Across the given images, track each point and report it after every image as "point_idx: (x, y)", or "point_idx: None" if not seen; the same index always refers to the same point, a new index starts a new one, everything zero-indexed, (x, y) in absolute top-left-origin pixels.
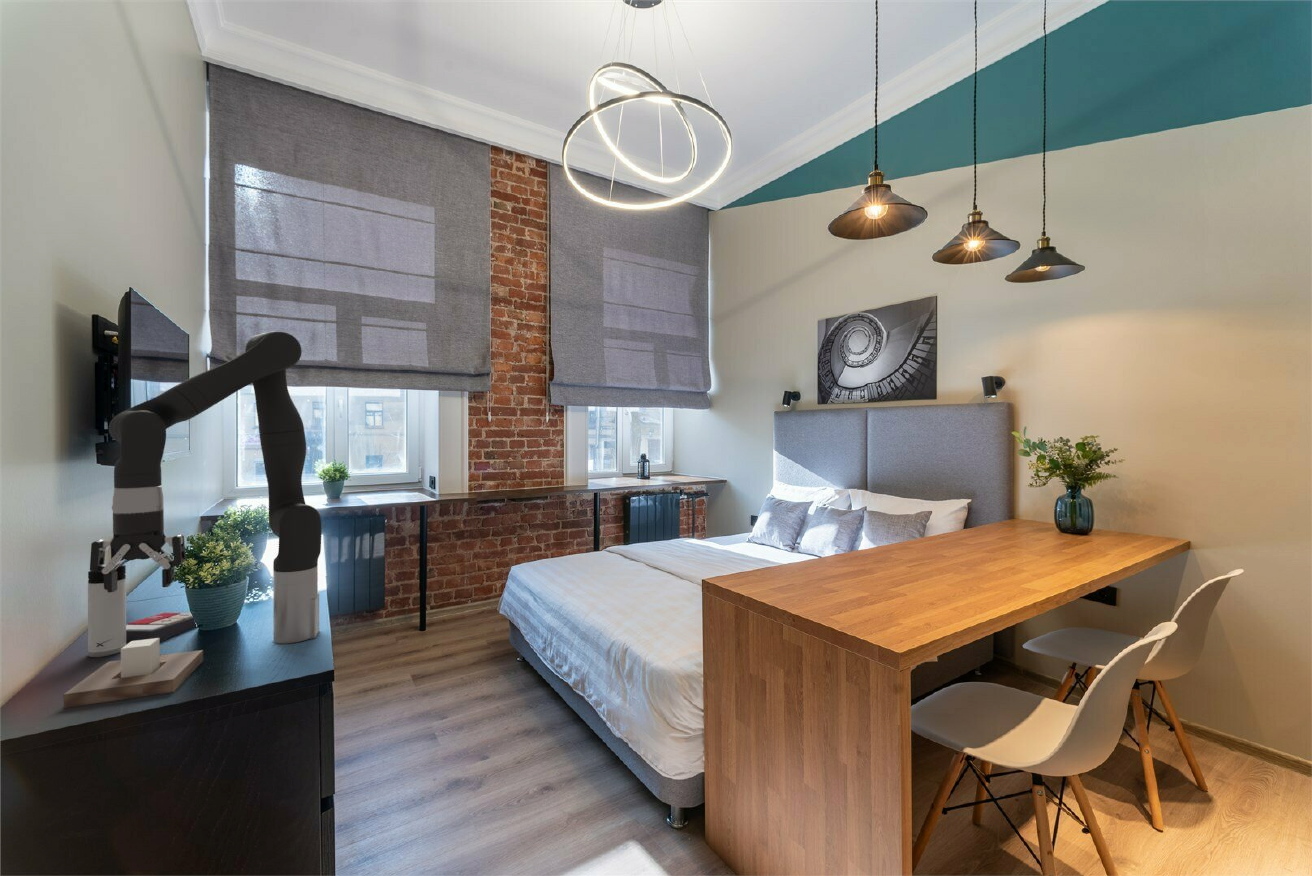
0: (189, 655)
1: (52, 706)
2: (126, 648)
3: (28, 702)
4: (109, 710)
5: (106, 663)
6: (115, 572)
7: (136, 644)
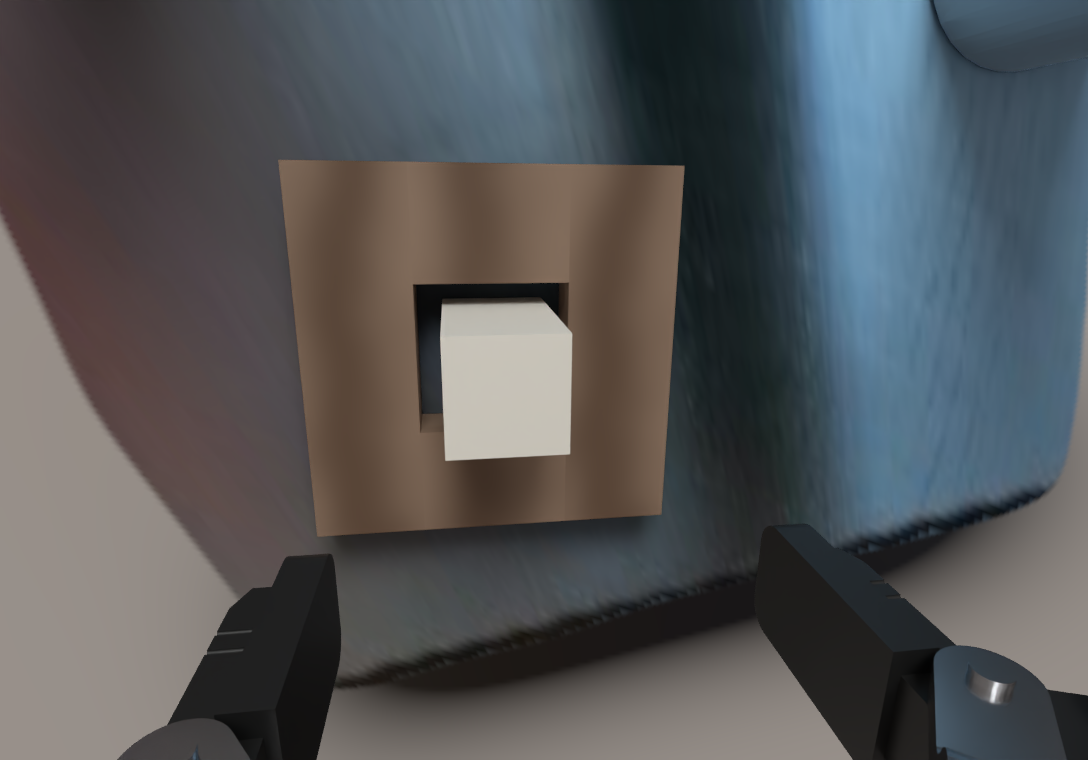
0: (643, 231)
1: (275, 482)
2: (469, 457)
3: (146, 409)
4: (497, 577)
5: (283, 188)
6: (282, 752)
7: (494, 412)
